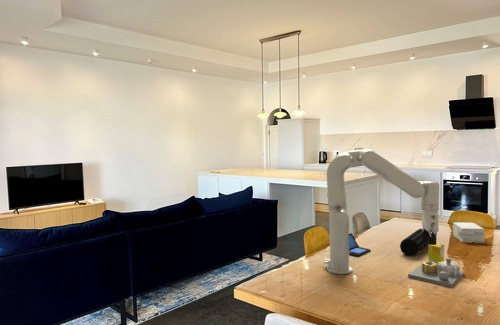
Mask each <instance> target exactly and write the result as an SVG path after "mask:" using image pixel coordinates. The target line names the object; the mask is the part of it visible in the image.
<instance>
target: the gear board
mask: <svg viewBox="0 0 500 325" xmlns="http://www.w3.org/2000/svg"><path fill="white" fill-rule="evenodd" d="M452 260H453V259H452V258H451V257H445V261H444V262H443V261H441V262H438V266H437V274H435V273H434V274H429V273H425V272H422V264H420V265H419V266H417V267H416V268H414V269H413V270H412V271H410V272H409V273H407V277H408V278H410V279H415V280H419V281H421V282H422V281H424V282H428V283H431V284H435V285H439V286H444V287H449V288H453V287H454V286H455V285H456V284H457V283H458V282H459V280H461V279H462V278H463V277H464V275H465V271H461V265H460V264H457V263H456V262H454V261H453V262H452ZM427 261H428V260H427ZM428 264H429V265H432V261H428Z"/></svg>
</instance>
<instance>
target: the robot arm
mask: <svg viewBox="0 0 500 325" xmlns="http://www.w3.org/2000/svg"><path fill="white" fill-rule="evenodd" d="M359 167H365V168H366V169H368V170H370V171H371V172H373V173H374V174H375V175H377V176H378V177H380V178H382V179H383V180H384V181H386V182H388V183H390V184H392V185H394V186H396V188H398V189H399V190H402V191H403V192H405V193H406V194H407V195H408V196H410V197H412V198H414V199H419V198H421V202H420V203H421V205H420V207H421V210H422V213H421V214H422V215H421V227H422V228H421V229H422V239H429V244H428V245H436V243H437V237H438V236H437V234H438V232H439V229H440V228H439V226H440V225H439V224H440V223H439V207H440V204H439V203H440V183H439V182H438V181H433V180H432V181H431V180H428V181H426V180H425V181H421V180H417V179H415V178H414V177H412V176H411V175H409V174H407V173H406V172H405V171H403V170H402V169H400V168H399V167H398V166H397V165H395V164H393V163H392V162H390V160H388V159H386V158H385V157H383V156H381V155H380V154H378V153H377V152H375V151H374V150H372V149H367V148H365V149H360V150H359V149H358V150H352V151H342V152H340V153H338V154H336V156H335V157H334V158H333V159H332V160H331V162H330V163H329V165H328V167H327V168H326V186H327V194H326V197H327V205H328V206H327V207H328V213H329V214H328V215H329V216H328V218H329V221H328V222H329V224H328V225H329V258H324V260H323V264H326V265H327V266H326V270H327V272H329V273H331V274H336V275H347V274H351V273H352V272H353V268H352V267H351V266H350V255H349V234H350V218H349V217H350V216H349V214H348V206H347V193H346V187H345V186H346V185H345V173H346V171H347V170H349V169H350V168H359ZM429 235H430V236H429Z"/></svg>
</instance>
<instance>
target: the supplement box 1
mask: <svg viewBox="0 0 500 325" xmlns="http://www.w3.org/2000/svg"><path fill="white" fill-rule="evenodd" d="M427 247H428V250H427V251H428V252H427V253H428V256H427V258H428V260H427V261H432V262H434V263H437V266H438V262H441V261H443V262H445V244H443V243H437V242H436V245H429V244H427Z"/></svg>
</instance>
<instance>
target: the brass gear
mask: <svg viewBox="0 0 500 325" xmlns="http://www.w3.org/2000/svg"><path fill="white" fill-rule="evenodd" d="M421 265H422V272H425V273H429V274H434V273H435V274H437V263H434V262H432V265H429V264H428V260H427V261H422V262H421Z"/></svg>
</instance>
